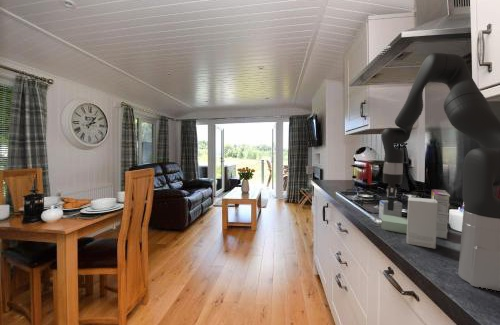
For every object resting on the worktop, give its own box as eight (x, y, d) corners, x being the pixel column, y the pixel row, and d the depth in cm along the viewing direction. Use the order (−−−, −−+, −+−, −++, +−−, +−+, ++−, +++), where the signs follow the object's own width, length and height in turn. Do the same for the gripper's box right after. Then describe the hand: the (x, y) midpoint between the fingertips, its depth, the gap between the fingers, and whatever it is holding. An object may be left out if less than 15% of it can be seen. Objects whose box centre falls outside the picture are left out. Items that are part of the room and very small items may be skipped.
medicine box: (396, 219, 110) (397, 200, 110) (401, 222, 106) (402, 202, 105) (378, 218, 111) (379, 199, 110) (382, 221, 107) (383, 202, 106)
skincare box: (434, 243, 83) (437, 199, 82) (435, 250, 77) (439, 203, 76) (405, 237, 87) (408, 196, 86) (405, 243, 82) (408, 199, 81)
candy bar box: (428, 228, 98) (431, 188, 97) (443, 230, 96) (446, 190, 94) (430, 236, 89) (433, 193, 88) (448, 239, 86) (451, 195, 85)
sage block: (410, 235, 91) (411, 225, 91) (381, 230, 96) (381, 220, 96) (408, 227, 100) (409, 218, 99) (381, 223, 105) (382, 214, 104)
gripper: (403, 175, 99) (400, 213, 100) (401, 171, 111) (399, 205, 112) (382, 173, 103) (380, 210, 104) (383, 170, 115) (381, 203, 116)
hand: (390, 208), depth 108 cm, fingers open, 8 cm apart
